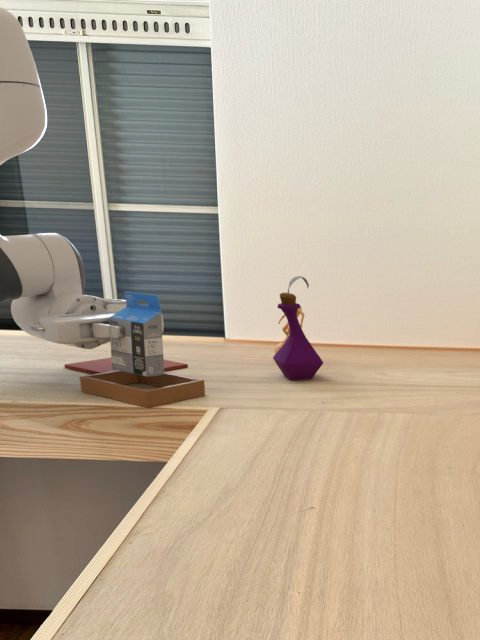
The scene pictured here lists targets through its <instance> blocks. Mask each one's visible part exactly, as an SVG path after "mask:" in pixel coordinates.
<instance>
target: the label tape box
mask: <svg viewBox="0 0 480 640" xmlns="http://www.w3.org/2000/svg"><path fill="white" fill-rule="evenodd" d="M124 298H125V300H126V305H127V306H126V307H125V308H124V309H122V310H120V311H119V312H117V313H116V314H114V315H112V316H110V317H109V325H120V326H124V328H125V337H124V338H111V337H110V342H109V343H110V358H111V359H112V369H114V370H120V371H124V372H129V373H133V374H138V375H142V376H159V375H163V374H164V372H165V371H164V361H163V360H164V345H163V343H164V341H163V333H162V321H161V313H162V308H161V303H160V297H159V295H157V294H148V293H143V292H134V291H125V290H124ZM142 300H143V302H147V303H148V304H141V303H138V301H139V302H141V301H142Z"/></svg>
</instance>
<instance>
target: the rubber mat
mask: <svg viewBox="0 0 480 640" xmlns="http://www.w3.org/2000/svg"><path fill="white" fill-rule="evenodd" d="M163 361H164V372H168V371H173V370H180V369H186V368H189V364H188V363H184V362H178V361H174V360H167V359H163ZM64 368H65V369H70V370H74V371H77V372H84V373H88V374H91V375H92V374H98V373H104V372H110V371H116V370H114V369H112V359H111V357H105V358H98V359H92V360H85V361H79V362H72V363H71V362H70V363H65V364H64Z"/></svg>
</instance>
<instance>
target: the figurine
mask: <svg viewBox="0 0 480 640" xmlns="http://www.w3.org/2000/svg"><path fill="white" fill-rule="evenodd" d="M300 315H301V317H300ZM285 317H286V315H285V314H284V313H283V314H282V316H281V317H280V319H279V321H278V323H277V325H280V324H281V322H282V320H283V319H284V318H285ZM299 317H300V323H299V324H300V326H301V328H303V323H304V318H305V313H304V312H303V310H302V306H301V305H300V308H299V309H298V310H297V318H298V319H299ZM282 332H283V333H284V334H285V336H286V337H285V338H284V340H282V341H281V342H279V343H278V344H277V345H276V346H275V349H274V355H275V354H276V353H277V352H278V351H279V349H280V348H281V347H282V346H283V345H284V343H285V342H286V340H287V339H288V337H289V334H290V330H289V324H288V320H287V321H286V323H285V324H284V326H282Z"/></svg>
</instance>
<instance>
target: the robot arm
mask: <svg viewBox="0 0 480 640" xmlns="http://www.w3.org/2000/svg"><path fill="white" fill-rule="evenodd" d="M47 126H48V114H47V106H46V102H45V97H44V93H43V89H42V84H41V80H40V76H39V72H38V69H37V65H36V62H35V59H34V55H33V52H32V50H31V47H30V44H29V41H28V38H27V36H26V33H25V32H24V28H23V26H22V24H21V23H20V21H19V20H18V19H17V17H16V16H15V15H14V14H13V13H12V12H10V11H9V10H7V9H4V8H3V7H0V166H1V165H3V164H4V163H5V162H7V161H8V160H11V159H13V158H14V157H17V156H18V155H21V154H23V153H25V152H27V151H29V150H31V149H32V148H34V147H35V146H36V145H37V144H38V143H39V142H40V141H41V139H42V138H43V136H44V135H45V132H46V129H47V128H48V127H47ZM85 287H86V270H85V265H84V261H83V258H82V256H81V254H80V252H79V250H78V249H77V248H76V246H75V245H74V244H73V243H72V242H71V241H70V240H69V239H68V238H67V237H65V236H64V235H63V234H61V233H58V232H41V233H28V234H17V235H1V234H0V304H1V303H6V302H10V301H11V304H10V313H11V316H12V319H13V321H14V322H15V324H16V325H17V326H18V327H19V328H20V329H21V330H22V331H23V332H25V333H26V334H28V335H30V336H31V337H34V338H37V339H39V340H42V341H46V342H49V343H50V342H51V343H53V344H57V345H66V346H69V347H74V348H79V349H83V350H93V349H96V348H98V347H100V346H102V345H105V344H108V343H111V342H110V337H111V338H124V337H125V328H124V326H120V325H109V317H110V316H112V315H114V314H116V313H117V312H119V311H120V310H122V309H124V308H125V307H126V306H127V305H126V299H118V298H102V297H98V296H96V295H95V296H94V295H88V294H85ZM161 321H162V334H163V333H164V327H165V325H164V315H163V314H162V312H161Z"/></svg>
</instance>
